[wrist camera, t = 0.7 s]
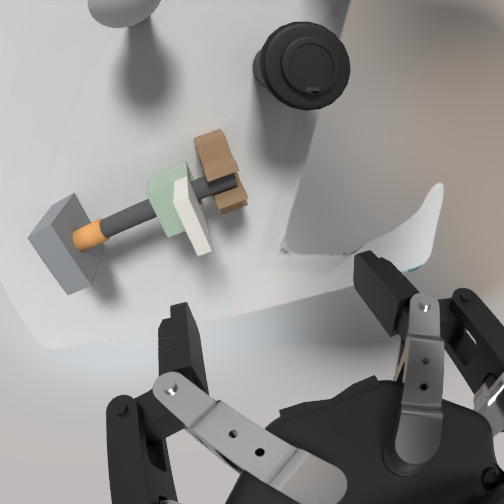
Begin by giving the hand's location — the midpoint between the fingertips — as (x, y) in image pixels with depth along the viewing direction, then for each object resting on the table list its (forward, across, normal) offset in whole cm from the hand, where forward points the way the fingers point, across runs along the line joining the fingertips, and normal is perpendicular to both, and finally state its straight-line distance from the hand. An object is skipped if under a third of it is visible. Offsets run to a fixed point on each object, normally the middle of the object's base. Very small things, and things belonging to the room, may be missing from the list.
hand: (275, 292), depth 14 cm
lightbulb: (+23, +5, -19) cm, 30 cm away
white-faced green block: (+21, +5, +1) cm, 21 cm away
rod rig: (+23, +9, +2) cm, 25 cm away
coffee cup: (+23, -9, -9) cm, 26 cm away
